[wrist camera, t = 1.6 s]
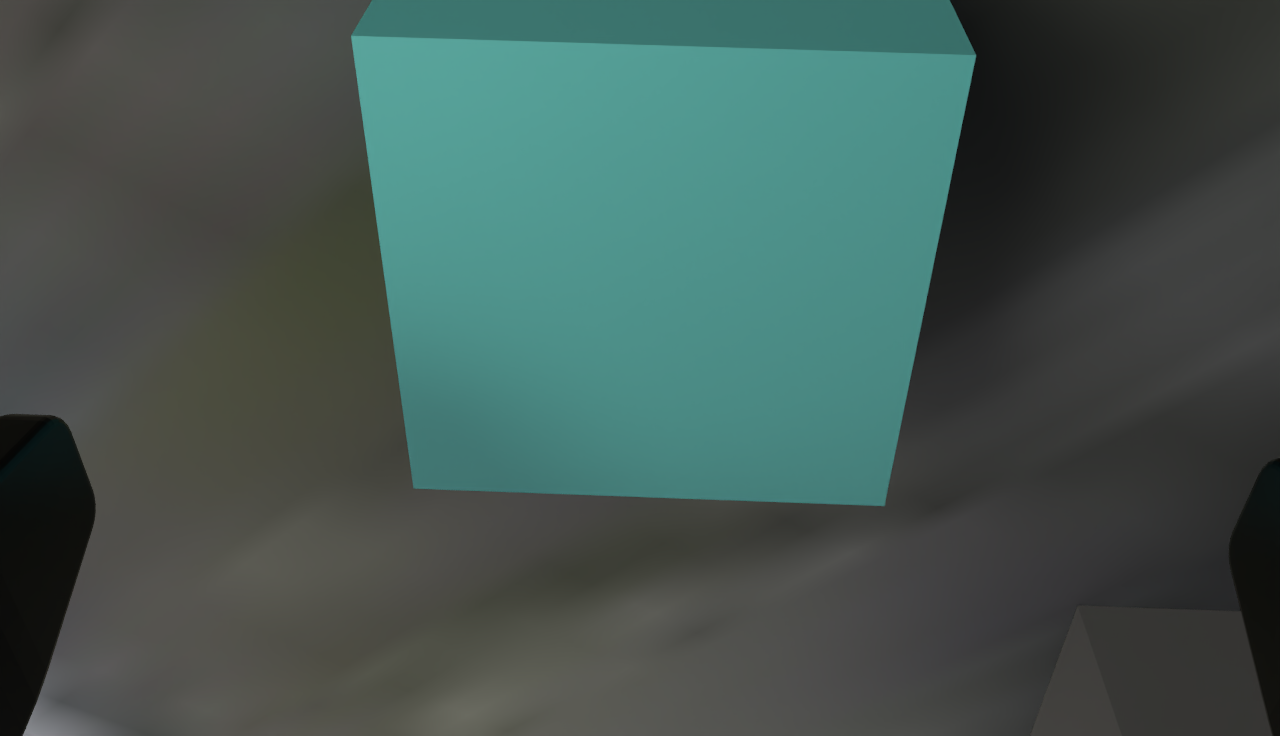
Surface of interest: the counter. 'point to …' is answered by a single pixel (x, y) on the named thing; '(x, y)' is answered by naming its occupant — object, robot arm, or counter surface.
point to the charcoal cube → (1153, 676)
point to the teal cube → (659, 237)
